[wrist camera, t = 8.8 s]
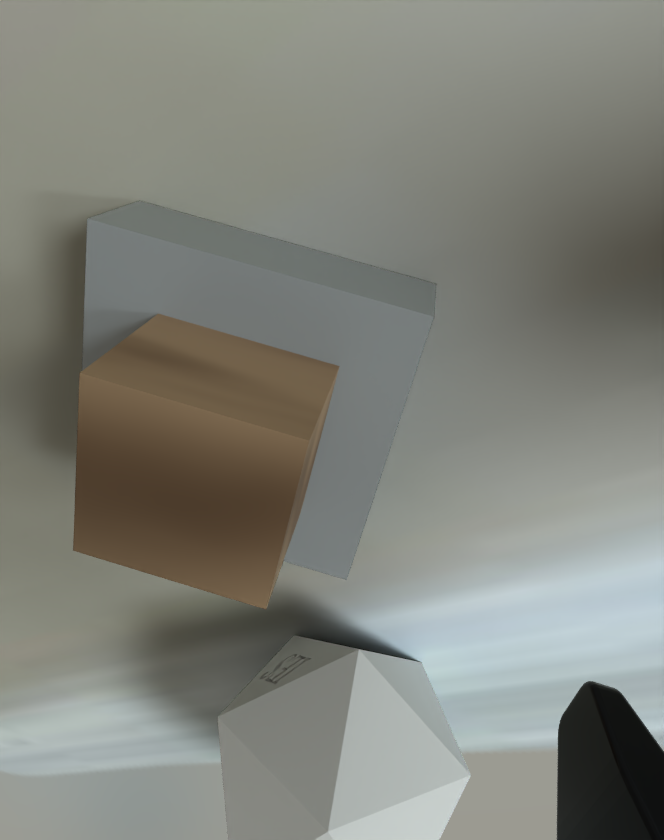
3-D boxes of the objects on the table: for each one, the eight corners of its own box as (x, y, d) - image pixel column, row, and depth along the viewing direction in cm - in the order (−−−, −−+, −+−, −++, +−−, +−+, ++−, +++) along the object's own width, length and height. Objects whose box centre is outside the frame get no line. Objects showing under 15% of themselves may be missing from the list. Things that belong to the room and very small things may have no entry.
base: (436, 283, 18) (433, 316, 15) (358, 522, 22) (346, 579, 20) (139, 200, 18) (87, 218, 16) (120, 451, 23) (77, 499, 20)
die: (345, 540, 24) (122, 751, 19) (552, 714, 20) (342, 1038, 15) (334, 628, 30) (166, 803, 25) (489, 771, 26) (328, 1010, 21)
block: (300, 512, 19) (265, 609, 15) (143, 465, 19) (73, 550, 15) (339, 366, 16) (309, 440, 13) (158, 313, 16) (79, 372, 13)
